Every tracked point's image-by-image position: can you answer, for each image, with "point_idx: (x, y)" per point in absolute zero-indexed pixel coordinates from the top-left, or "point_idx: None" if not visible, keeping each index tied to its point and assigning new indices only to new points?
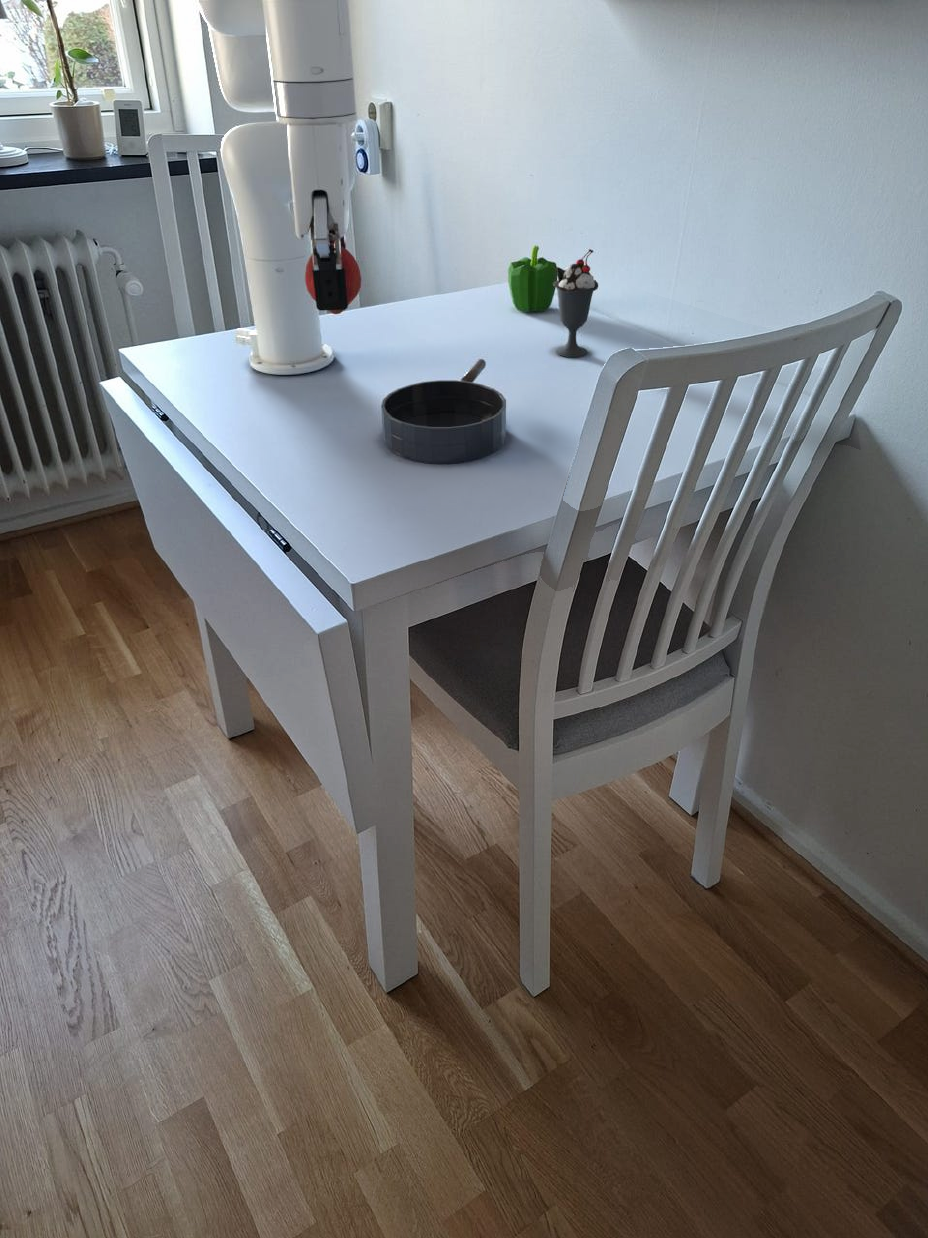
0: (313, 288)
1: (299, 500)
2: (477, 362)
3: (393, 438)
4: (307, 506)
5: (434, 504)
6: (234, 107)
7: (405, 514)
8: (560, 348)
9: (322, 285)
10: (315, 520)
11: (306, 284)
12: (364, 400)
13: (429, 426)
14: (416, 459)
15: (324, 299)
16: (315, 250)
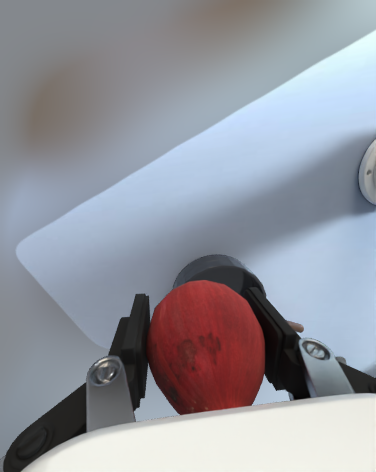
0: (161, 304)
1: (118, 201)
2: (296, 329)
3: (191, 268)
4: (109, 207)
5: (113, 290)
6: None
7: (99, 273)
8: (340, 360)
9: (114, 340)
10: (87, 215)
11: (186, 289)
12: (289, 236)
13: (229, 284)
14: (176, 278)
15: (121, 320)
16: (10, 457)
